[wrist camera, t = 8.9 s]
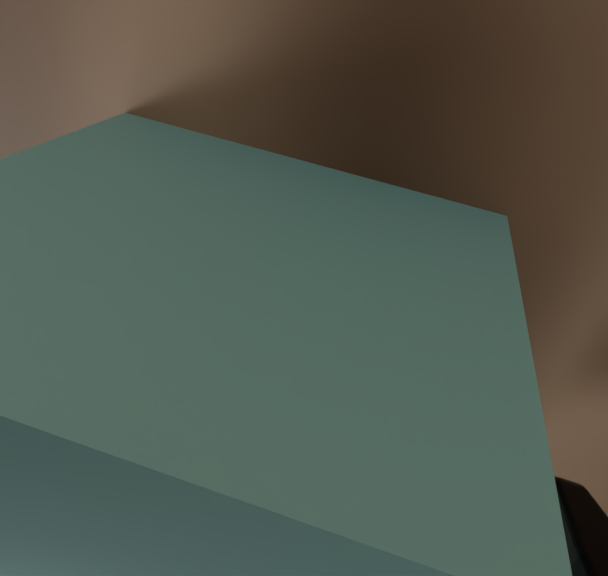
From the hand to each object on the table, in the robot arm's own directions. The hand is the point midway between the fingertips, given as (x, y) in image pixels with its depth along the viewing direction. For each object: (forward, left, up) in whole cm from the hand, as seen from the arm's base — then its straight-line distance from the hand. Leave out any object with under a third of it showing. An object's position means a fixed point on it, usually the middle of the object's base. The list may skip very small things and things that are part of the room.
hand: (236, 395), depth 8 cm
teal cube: (0, 0, -2) cm, 2 cm away
